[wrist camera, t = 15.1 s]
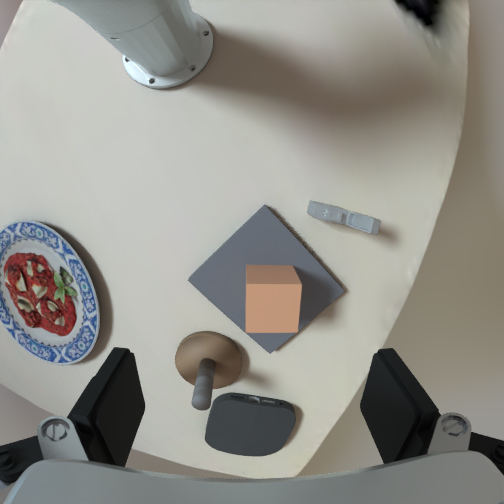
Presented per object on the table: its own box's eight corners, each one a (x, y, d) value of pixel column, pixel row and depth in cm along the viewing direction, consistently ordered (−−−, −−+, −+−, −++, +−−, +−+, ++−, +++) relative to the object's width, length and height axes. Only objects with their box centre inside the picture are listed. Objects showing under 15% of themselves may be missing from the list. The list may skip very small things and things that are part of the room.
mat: (189, 276, 41) (187, 280, 40) (264, 204, 39) (265, 205, 38) (269, 348, 45) (270, 353, 43) (341, 287, 42) (344, 291, 41)
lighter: (306, 213, 40) (321, 223, 32) (309, 200, 39) (324, 207, 32) (355, 223, 40) (379, 235, 32) (358, 211, 40) (383, 221, 32)
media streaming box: (202, 438, 50) (201, 449, 48) (216, 386, 47) (214, 398, 44) (275, 449, 52) (276, 460, 49) (300, 400, 48) (302, 411, 45)
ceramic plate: (17, 352, 45) (9, 359, 42) (-18, 226, 39) (-28, 230, 36) (121, 363, 45) (115, 373, 43) (88, 208, 39) (78, 210, 36)
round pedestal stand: (164, 356, 45) (147, 399, 35) (206, 318, 43) (196, 359, 33) (211, 392, 47) (204, 438, 37) (254, 359, 45) (257, 405, 35)
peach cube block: (246, 264, 40) (246, 283, 33) (292, 265, 40) (301, 284, 33) (245, 307, 41) (245, 332, 34) (289, 307, 41) (297, 332, 35)
